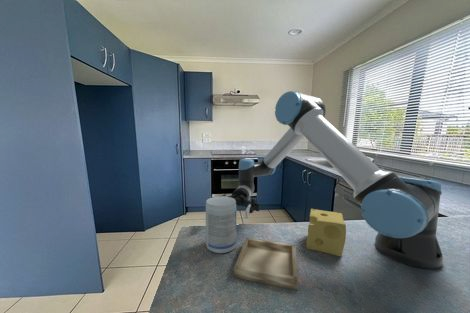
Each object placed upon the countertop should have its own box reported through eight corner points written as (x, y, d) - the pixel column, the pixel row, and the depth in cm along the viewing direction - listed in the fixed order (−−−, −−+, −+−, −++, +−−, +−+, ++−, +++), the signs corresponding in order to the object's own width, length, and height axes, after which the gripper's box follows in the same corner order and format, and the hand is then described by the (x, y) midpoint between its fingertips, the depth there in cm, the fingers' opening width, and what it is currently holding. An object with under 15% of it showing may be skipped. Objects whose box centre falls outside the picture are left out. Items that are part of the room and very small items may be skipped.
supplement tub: (242, 248, 60) (242, 202, 58) (214, 258, 54) (214, 208, 53) (226, 235, 68) (226, 194, 66) (200, 243, 62) (200, 198, 61)
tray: (294, 252, 58) (295, 244, 57) (297, 290, 43) (297, 279, 43) (246, 245, 61) (246, 237, 61) (233, 277, 47) (234, 267, 47)
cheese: (305, 249, 60) (307, 218, 59) (308, 234, 69) (310, 207, 69) (344, 258, 55) (346, 225, 54) (341, 240, 65) (343, 212, 64)
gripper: (268, 206, 85) (262, 227, 65) (215, 200, 92) (195, 218, 72) (269, 189, 85) (263, 205, 64) (215, 185, 91) (195, 198, 71)
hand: (227, 212), depth 68 cm, fingers open, 13 cm apart
